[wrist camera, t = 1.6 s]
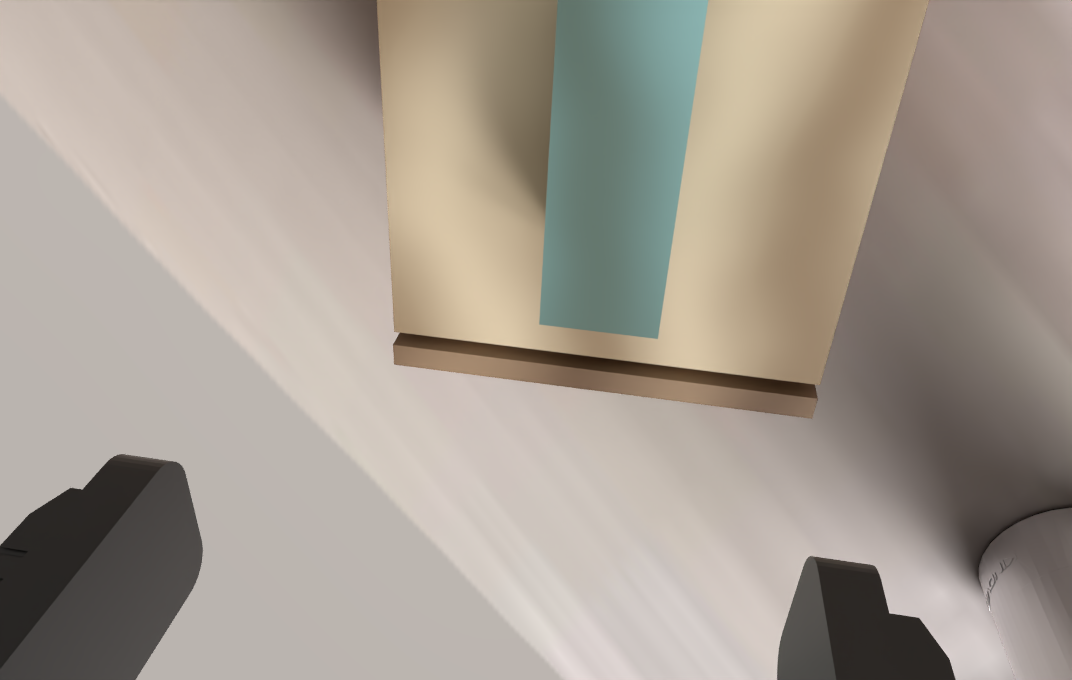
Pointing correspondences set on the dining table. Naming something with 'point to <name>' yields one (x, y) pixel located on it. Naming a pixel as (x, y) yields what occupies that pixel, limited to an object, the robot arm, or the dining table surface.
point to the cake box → (606, 375)
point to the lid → (637, 172)
